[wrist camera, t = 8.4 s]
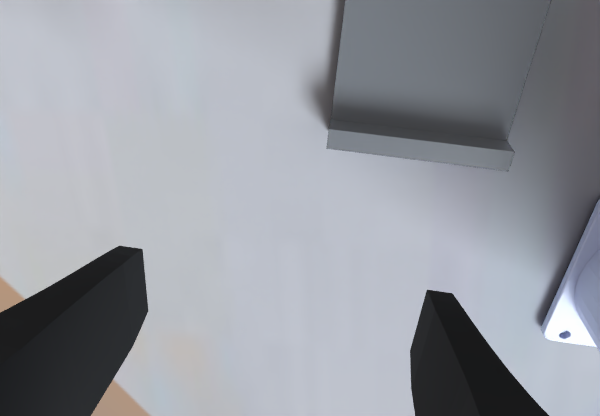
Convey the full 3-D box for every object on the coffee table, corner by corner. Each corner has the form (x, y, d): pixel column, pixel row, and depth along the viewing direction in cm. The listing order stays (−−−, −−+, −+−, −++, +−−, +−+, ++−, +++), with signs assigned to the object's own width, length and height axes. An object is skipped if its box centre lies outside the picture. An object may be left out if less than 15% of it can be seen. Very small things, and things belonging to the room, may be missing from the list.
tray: (566, -70, 16) (588, -71, 14) (497, 153, 20) (508, 171, 18) (356, -89, 16) (355, -93, 15) (329, 133, 20) (326, 148, 19)
